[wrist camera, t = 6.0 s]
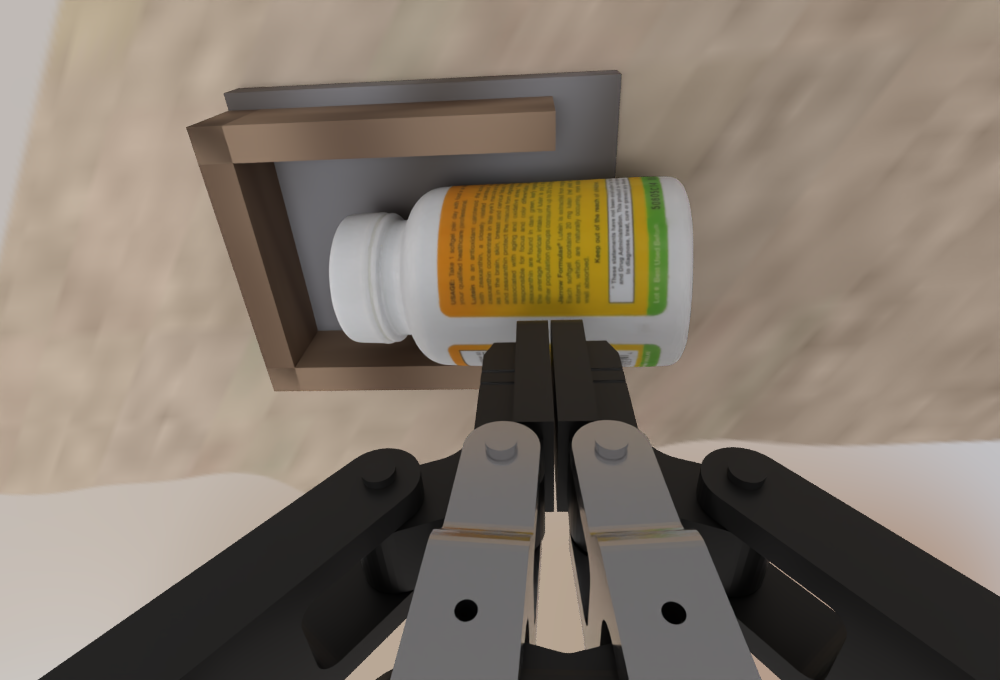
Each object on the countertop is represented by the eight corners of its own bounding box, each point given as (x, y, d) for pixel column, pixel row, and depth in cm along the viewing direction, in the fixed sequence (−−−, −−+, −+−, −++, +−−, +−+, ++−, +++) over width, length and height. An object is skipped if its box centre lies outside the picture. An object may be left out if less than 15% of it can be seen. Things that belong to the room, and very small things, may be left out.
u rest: (616, 70, 17) (635, 86, 14) (601, 344, 22) (612, 399, 19) (238, 88, 18) (179, 107, 15) (310, 349, 23) (278, 402, 20)
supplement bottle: (676, 144, 16) (360, 161, 18) (708, 236, 12) (293, 248, 14) (660, 295, 20) (397, 298, 21) (680, 406, 15) (352, 401, 17)
